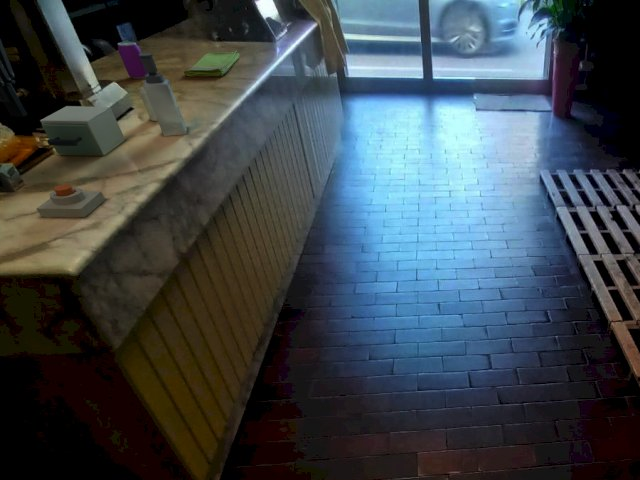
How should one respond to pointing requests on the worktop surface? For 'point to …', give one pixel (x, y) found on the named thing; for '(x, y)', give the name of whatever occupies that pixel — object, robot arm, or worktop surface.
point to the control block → (71, 204)
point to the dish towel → (213, 65)
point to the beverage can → (132, 59)
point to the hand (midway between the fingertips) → (19, 115)
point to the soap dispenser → (162, 99)
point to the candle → (147, 104)
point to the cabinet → (91, 125)
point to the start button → (64, 190)
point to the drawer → (70, 138)
